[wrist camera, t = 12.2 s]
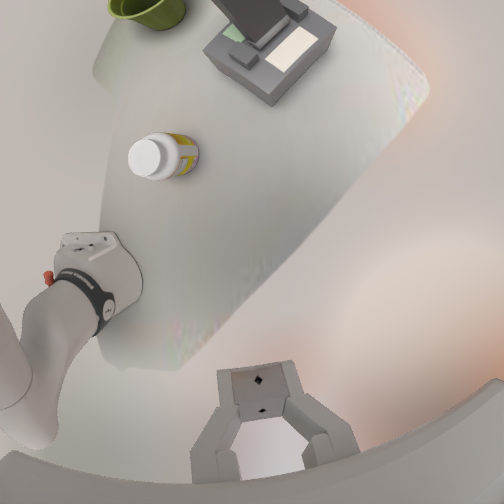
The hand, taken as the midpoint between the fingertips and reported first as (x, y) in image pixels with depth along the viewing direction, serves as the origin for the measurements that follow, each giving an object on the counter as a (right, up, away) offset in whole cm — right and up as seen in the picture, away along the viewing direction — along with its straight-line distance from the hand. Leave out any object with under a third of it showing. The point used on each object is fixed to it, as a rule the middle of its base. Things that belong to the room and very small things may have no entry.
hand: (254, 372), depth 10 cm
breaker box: (+3, +35, +24) cm, 43 cm away
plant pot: (-15, +47, +22) cm, 54 cm away
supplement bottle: (-12, +21, +31) cm, 39 cm away
